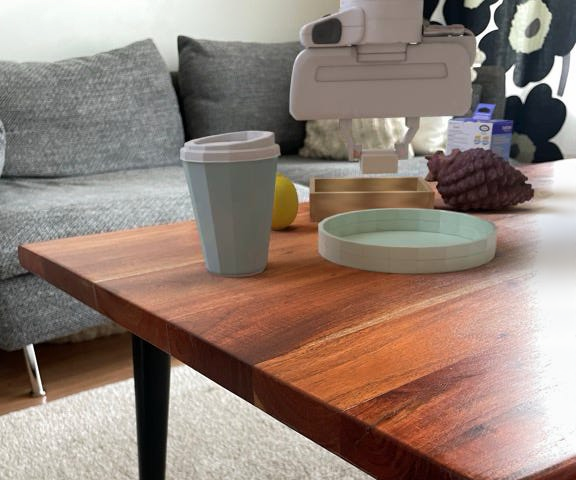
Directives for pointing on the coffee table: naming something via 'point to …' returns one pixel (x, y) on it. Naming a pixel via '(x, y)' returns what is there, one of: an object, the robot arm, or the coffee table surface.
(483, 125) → the ink cartridge box
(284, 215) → the lemon
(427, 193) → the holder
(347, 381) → the coffee table surface
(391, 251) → the round tray
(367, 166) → the block
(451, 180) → the pine cone
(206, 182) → the disposable coffee cup
